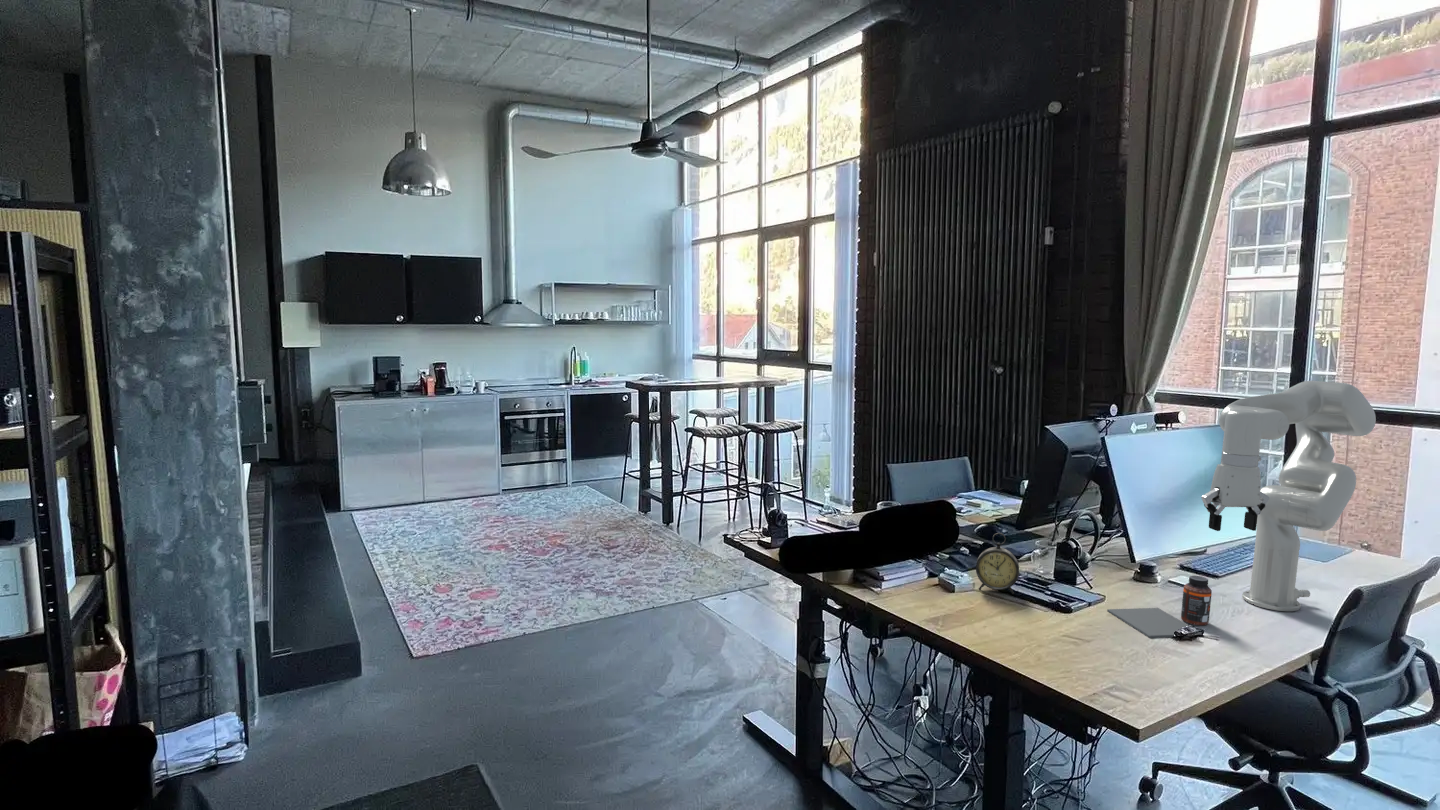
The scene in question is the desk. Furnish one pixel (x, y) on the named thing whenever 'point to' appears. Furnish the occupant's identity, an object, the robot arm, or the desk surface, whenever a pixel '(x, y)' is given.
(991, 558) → the alarm clock
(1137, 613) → the rubber mat
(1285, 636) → the desk surface
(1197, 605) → the supplement bottle
